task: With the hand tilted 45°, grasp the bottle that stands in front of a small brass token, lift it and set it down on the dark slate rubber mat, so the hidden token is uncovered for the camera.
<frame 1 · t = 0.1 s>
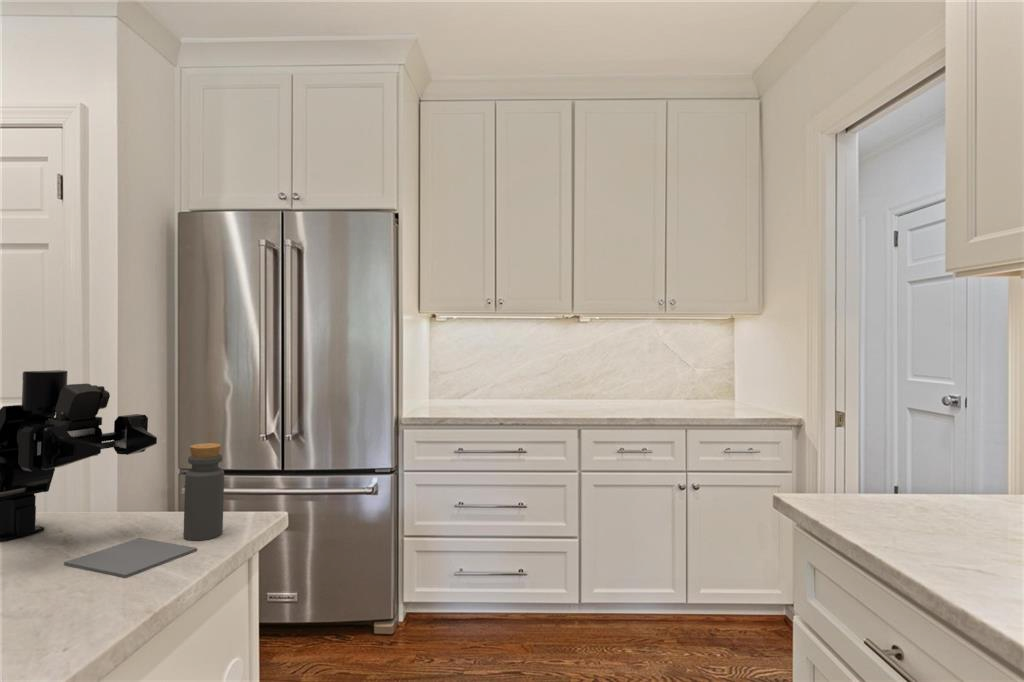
hand: (129, 445, 93), 17 cm above the counter, tool horizontal, fingers open, 9 cm apart
slate mat: (133, 557, 92), on the counter
brass token: (203, 525, 108), on the counter
bottle: (203, 536, 103), on the counter
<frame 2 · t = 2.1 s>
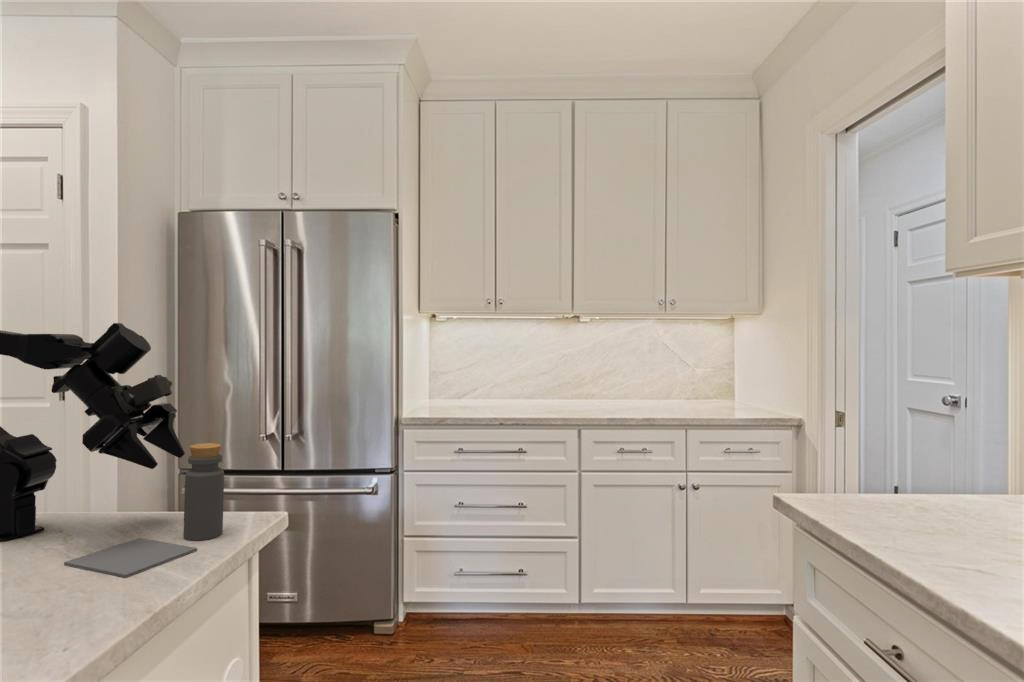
hand: (169, 461, 103), 12 cm above the counter, tool tilted 45°, fingers open, 9 cm apart
nothing on the counter moved.
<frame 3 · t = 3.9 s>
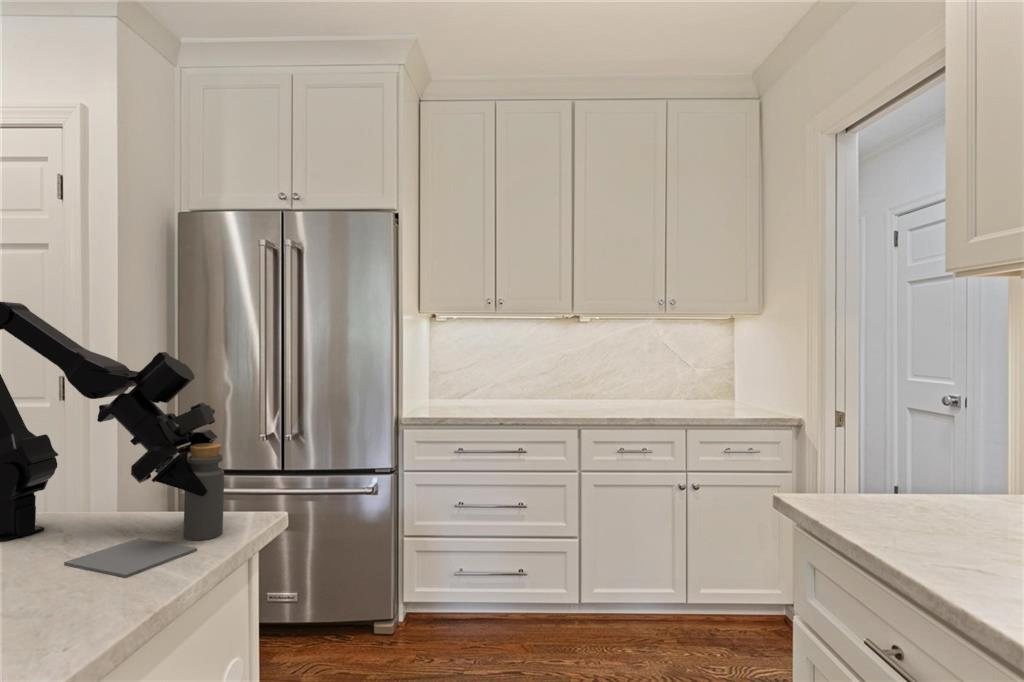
hand: (213, 489, 103), 8 cm above the counter, tool tilted 45°, fingers closed on bottle, 6 cm apart
bottle: (203, 536, 103), on the counter, touching gripper
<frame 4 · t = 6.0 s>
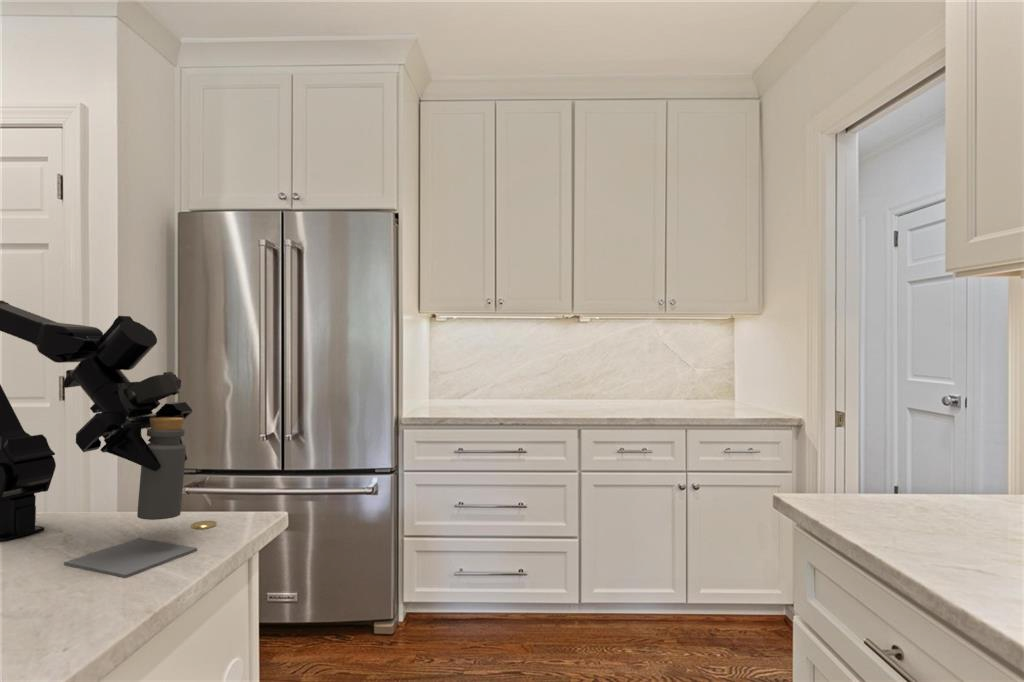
hand: (171, 465, 95), 13 cm above the counter, tool tilted 45°, fingers closed on bottle, 6 cm apart
bottle: (158, 517, 95), point 5 cm above the counter, touching gripper
when the fingers open (9 cm above the counter, at t = 7.7 s): bottle drops 1 cm, resting on slate mat.
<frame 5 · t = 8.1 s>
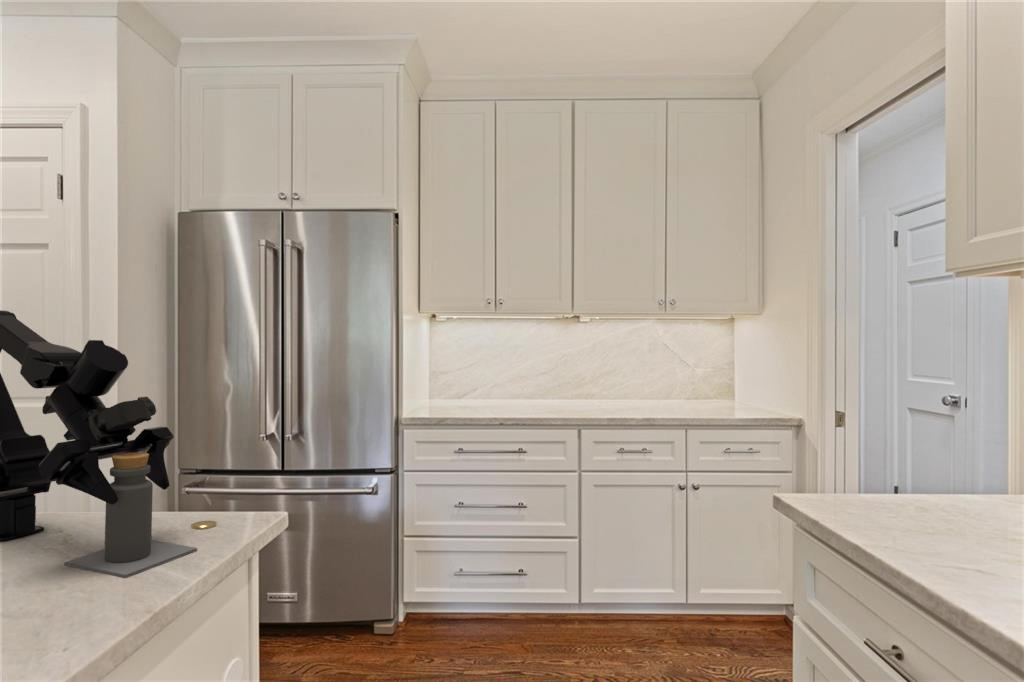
hand: (142, 494, 92), 9 cm above the counter, tool tilted 45°, fingers open, 9 cm apart
bottle: (127, 557, 91), resting on slate mat
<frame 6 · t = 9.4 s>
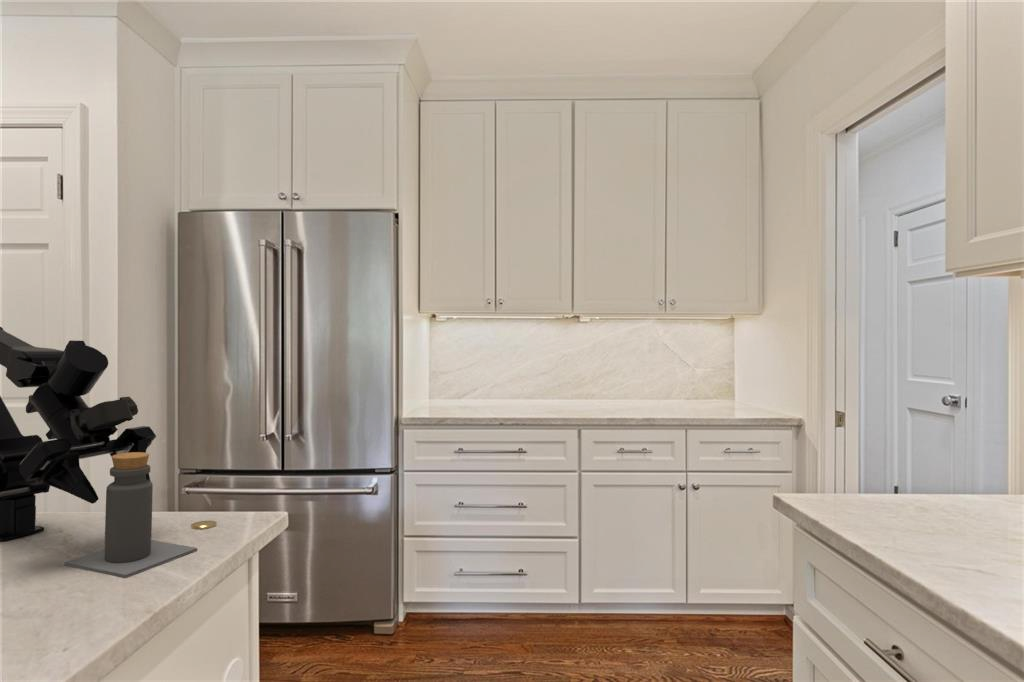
hand: (123, 493, 93), 9 cm above the counter, tool tilted 45°, fingers open, 9 cm apart
nothing on the counter moved.
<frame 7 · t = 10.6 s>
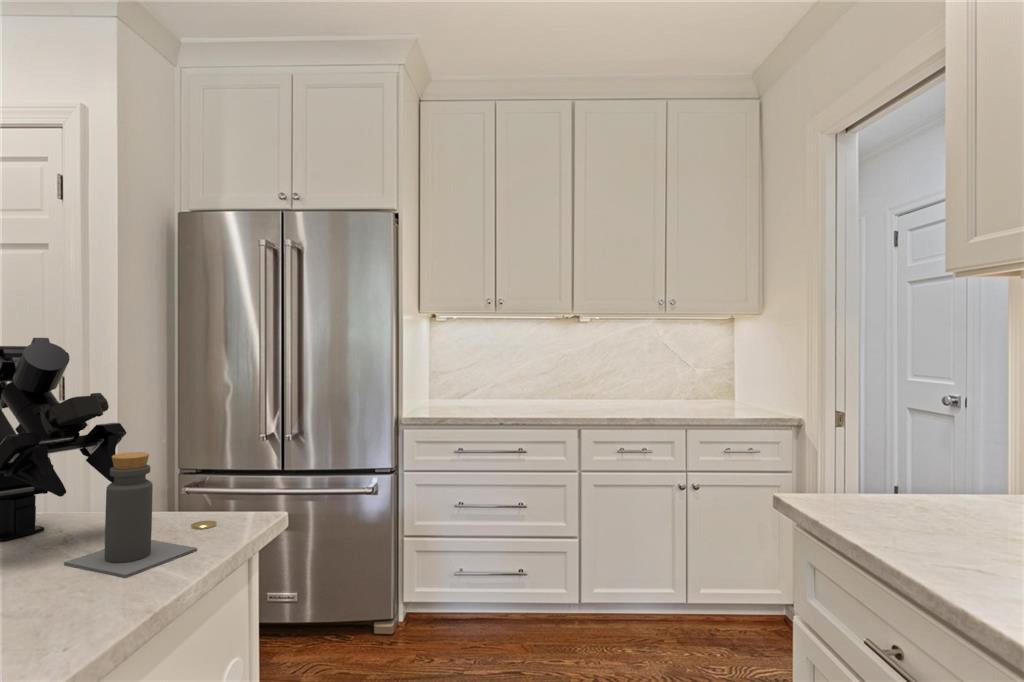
hand: (91, 488, 94), 10 cm above the counter, tool tilted 45°, fingers open, 9 cm apart
nothing on the counter moved.
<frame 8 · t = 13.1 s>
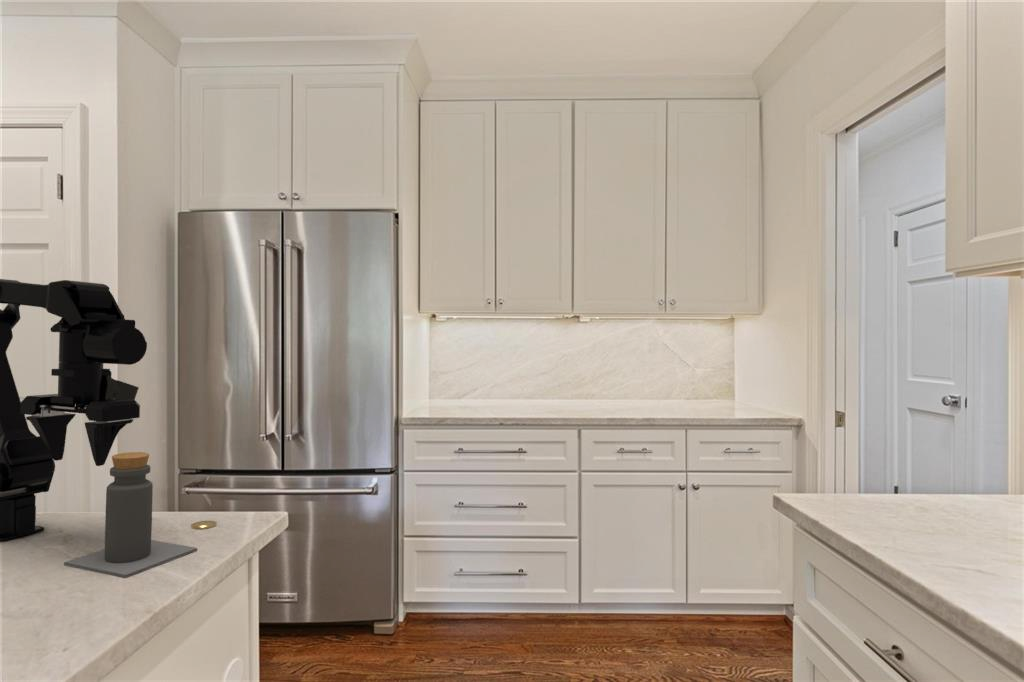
hand: (78, 462, 96), 13 cm above the counter, tool pointing down, fingers open, 9 cm apart
nothing on the counter moved.
at the end: bottle inside the target area on the slate mat (0.8 cm from its centre), point 0.2 cm above the slate mat's base; bottle tilted 0°; the gripper is holding nothing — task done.
